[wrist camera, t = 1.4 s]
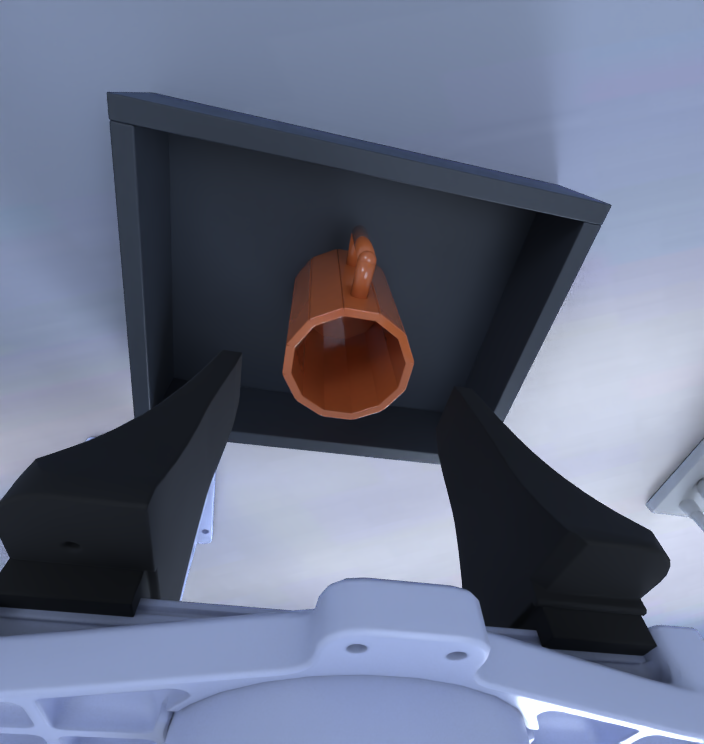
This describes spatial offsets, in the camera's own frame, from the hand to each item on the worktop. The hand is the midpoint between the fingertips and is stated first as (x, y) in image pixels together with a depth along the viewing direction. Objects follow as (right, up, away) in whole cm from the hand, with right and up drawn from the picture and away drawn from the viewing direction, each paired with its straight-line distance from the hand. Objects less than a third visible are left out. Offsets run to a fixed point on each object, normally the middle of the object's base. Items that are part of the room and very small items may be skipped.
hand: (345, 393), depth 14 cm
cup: (0, +5, +8) cm, 9 cm away
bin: (0, +5, +8) cm, 10 cm away
